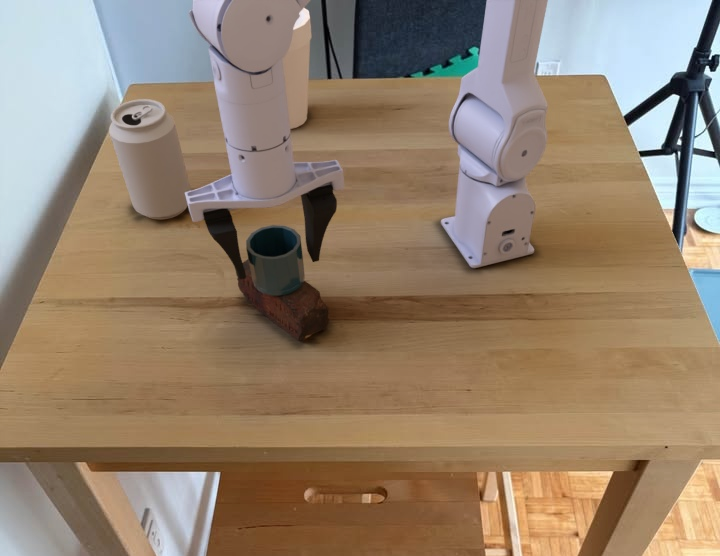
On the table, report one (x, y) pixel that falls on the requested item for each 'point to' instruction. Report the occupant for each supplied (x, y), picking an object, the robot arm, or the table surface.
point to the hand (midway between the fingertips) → (277, 264)
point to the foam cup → (298, 70)
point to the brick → (288, 307)
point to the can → (150, 158)
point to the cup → (275, 260)
